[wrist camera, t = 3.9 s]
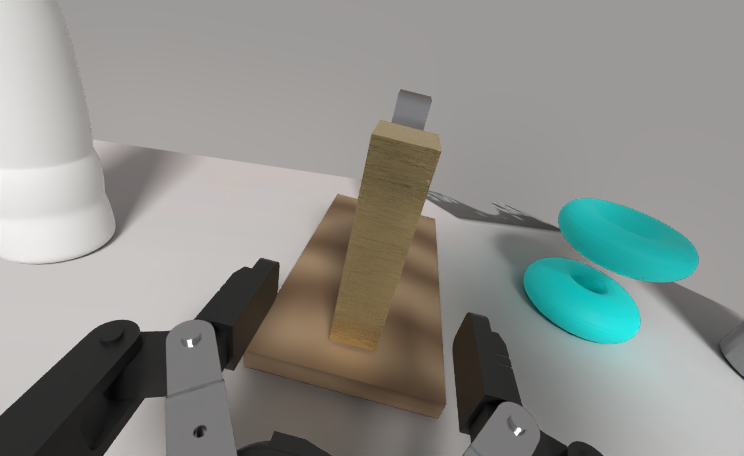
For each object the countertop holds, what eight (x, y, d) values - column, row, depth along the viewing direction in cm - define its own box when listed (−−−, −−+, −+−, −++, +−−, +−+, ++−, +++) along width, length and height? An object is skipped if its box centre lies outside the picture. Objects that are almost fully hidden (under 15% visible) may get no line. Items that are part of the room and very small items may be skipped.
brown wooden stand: (437, 418, 19) (561, 204, 12) (243, 366, 19) (245, 124, 12) (431, 229, 39) (475, 106, 32) (335, 205, 39) (357, 77, 32)
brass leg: (375, 351, 20) (441, 151, 13) (328, 339, 20) (371, 133, 13) (381, 316, 22) (438, 134, 16) (339, 306, 23) (380, 119, 16)
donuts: (745, 274, 22) (595, 233, 22) (649, 366, 27) (530, 330, 27) (660, 211, 30) (554, 183, 31) (600, 290, 35) (510, 264, 36)
